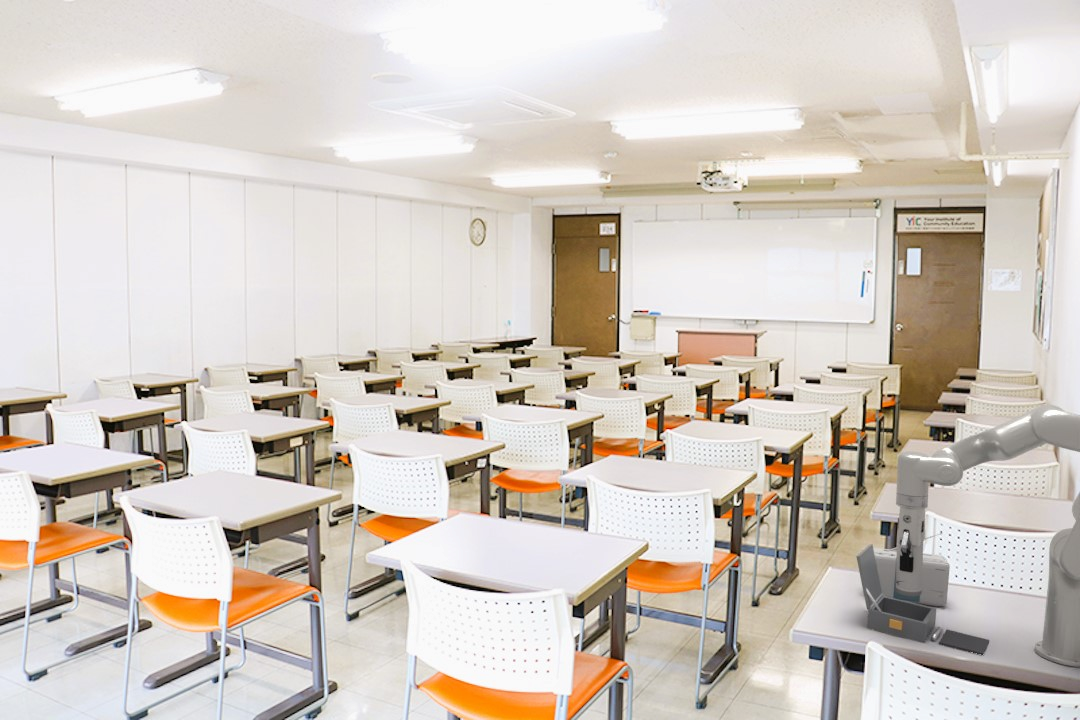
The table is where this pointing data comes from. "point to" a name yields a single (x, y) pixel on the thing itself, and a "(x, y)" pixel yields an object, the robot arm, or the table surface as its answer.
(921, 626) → the case
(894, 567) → the stereo radio cassette player
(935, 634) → the rod
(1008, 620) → the table surface
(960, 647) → the pad
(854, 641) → the table surface
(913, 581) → the travel mug
